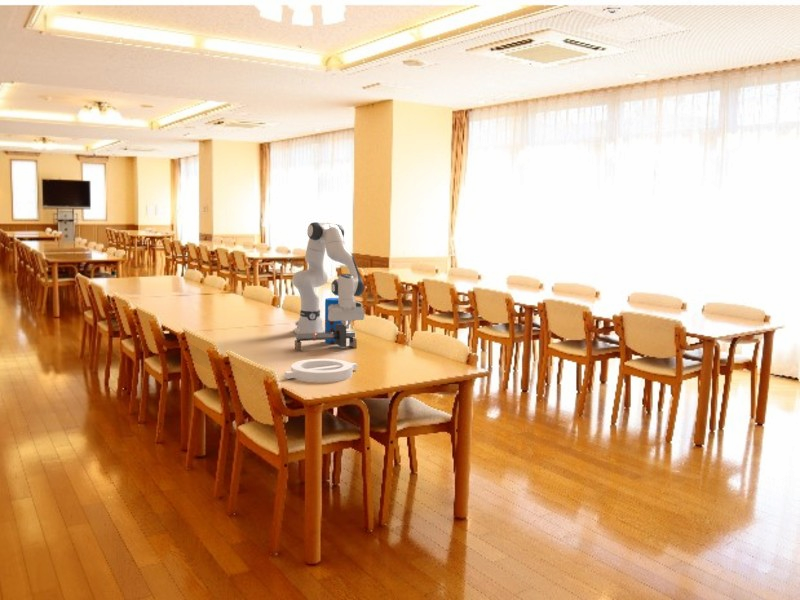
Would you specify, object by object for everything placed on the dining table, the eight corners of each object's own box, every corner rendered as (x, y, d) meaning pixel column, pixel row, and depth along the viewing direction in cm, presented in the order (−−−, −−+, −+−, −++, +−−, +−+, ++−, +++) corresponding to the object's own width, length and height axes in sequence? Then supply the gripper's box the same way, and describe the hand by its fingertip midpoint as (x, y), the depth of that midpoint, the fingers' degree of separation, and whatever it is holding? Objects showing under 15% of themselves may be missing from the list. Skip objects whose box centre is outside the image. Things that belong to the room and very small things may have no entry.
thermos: (340, 344, 377) (340, 300, 374) (322, 343, 379) (322, 299, 376) (346, 341, 388) (346, 298, 385) (328, 340, 390) (328, 297, 387)
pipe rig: (294, 349, 362) (294, 332, 361) (352, 345, 375) (352, 329, 373) (297, 351, 356) (297, 334, 355) (356, 348, 368) (356, 331, 367)
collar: (335, 343, 373) (335, 323, 371) (340, 343, 374) (340, 323, 372) (340, 347, 363) (341, 327, 361) (346, 346, 364) (346, 326, 362)
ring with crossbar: (282, 380, 295) (282, 370, 295) (302, 366, 323) (302, 357, 322) (343, 385, 290) (343, 374, 290) (359, 370, 318) (359, 360, 317)
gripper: (329, 305, 360) (329, 330, 361) (365, 303, 367) (365, 328, 369) (326, 303, 365) (326, 328, 367) (361, 302, 373) (361, 326, 375)
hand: (346, 328), depth 368 cm, fingers closed
